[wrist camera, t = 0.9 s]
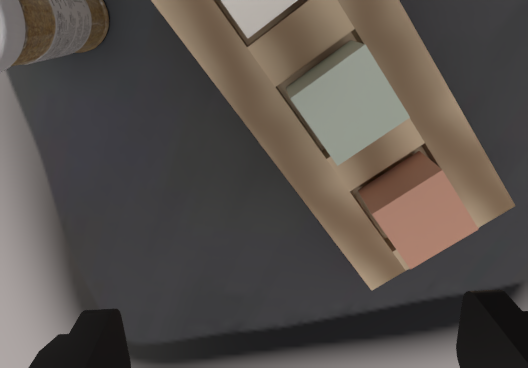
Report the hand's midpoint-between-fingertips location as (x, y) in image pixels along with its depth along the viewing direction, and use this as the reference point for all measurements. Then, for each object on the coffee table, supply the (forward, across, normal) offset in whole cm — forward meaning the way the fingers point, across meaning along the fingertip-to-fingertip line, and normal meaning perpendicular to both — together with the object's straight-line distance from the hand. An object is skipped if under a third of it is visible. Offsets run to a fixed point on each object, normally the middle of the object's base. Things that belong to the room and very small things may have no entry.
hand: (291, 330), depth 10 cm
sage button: (+21, -5, -2) cm, 21 cm away
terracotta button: (+21, -10, +6) cm, 23 cm away
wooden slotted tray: (+23, -5, -2) cm, 23 cm away
